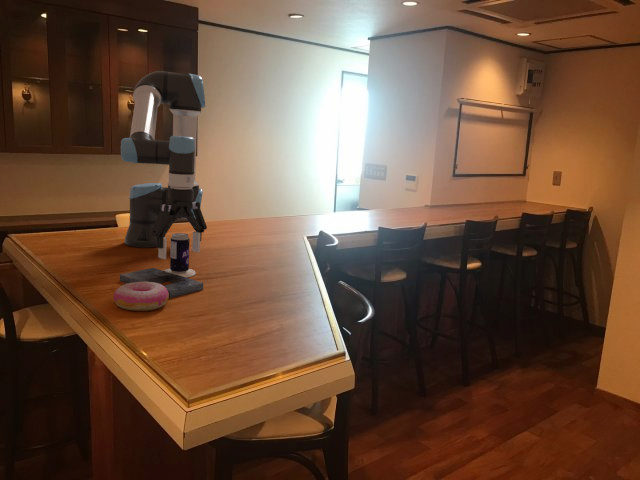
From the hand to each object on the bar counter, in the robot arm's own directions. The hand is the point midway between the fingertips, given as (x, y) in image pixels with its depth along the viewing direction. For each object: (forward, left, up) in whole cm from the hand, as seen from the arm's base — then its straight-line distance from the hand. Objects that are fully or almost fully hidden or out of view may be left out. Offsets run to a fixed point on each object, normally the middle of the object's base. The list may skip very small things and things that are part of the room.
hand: (179, 255), depth 164 cm
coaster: (0, 0, -6) cm, 6 cm away
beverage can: (0, 0, -6) cm, 6 cm away
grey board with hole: (+6, -12, -6) cm, 15 cm away
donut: (+16, -26, -6) cm, 32 cm away
